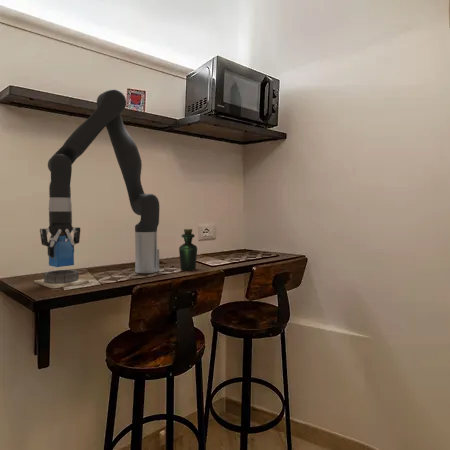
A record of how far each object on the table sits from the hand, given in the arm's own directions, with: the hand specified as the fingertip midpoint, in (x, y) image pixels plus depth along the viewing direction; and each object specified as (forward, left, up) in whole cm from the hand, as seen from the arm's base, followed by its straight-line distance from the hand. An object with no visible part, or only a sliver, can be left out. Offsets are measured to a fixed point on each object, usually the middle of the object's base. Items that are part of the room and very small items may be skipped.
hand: (61, 256), depth 129 cm
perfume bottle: (0, 0, -3) cm, 3 cm away
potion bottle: (-50, +14, -10) cm, 53 cm away
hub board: (0, 0, -10) cm, 10 cm away
